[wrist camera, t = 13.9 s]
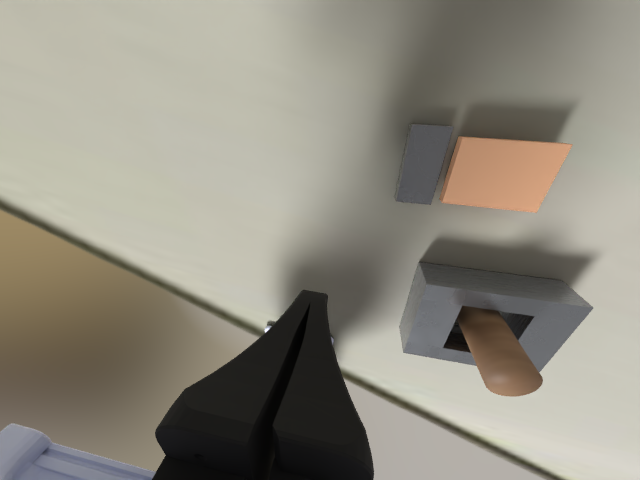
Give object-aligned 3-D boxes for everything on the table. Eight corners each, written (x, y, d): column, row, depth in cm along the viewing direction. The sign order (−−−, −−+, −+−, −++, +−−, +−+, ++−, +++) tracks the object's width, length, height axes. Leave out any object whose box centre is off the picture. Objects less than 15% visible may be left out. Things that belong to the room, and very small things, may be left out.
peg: (483, 320, 22) (528, 400, 16) (447, 315, 22) (477, 390, 16) (497, 294, 20) (553, 371, 14) (458, 289, 21) (495, 362, 15)
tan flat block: (439, 198, 16) (529, 208, 15) (442, 202, 16) (536, 212, 15) (458, 136, 14) (562, 142, 14) (462, 137, 14) (572, 144, 13)
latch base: (427, 200, 18) (430, 204, 17) (394, 196, 18) (396, 201, 17) (448, 125, 15) (453, 126, 14) (410, 123, 15) (412, 124, 15)
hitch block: (516, 346, 23) (536, 376, 20) (399, 326, 24) (403, 352, 21) (562, 280, 19) (593, 307, 16) (419, 262, 20) (426, 284, 18)
